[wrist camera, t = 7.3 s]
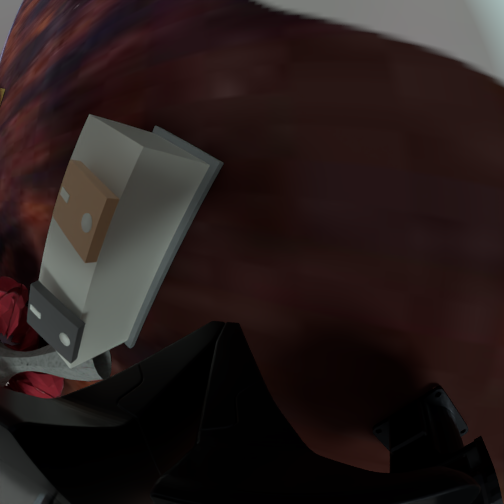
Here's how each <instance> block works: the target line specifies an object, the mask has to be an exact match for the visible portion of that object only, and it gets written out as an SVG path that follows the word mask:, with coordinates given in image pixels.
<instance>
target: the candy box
mask: <svg viewBox="0 0 504 504" xmlns="http://www.w3.org/2000/svg"><path fill="white" fill-rule="evenodd" d="M4 92H5V89H3V88H0V105H1V101H2V98H3V95H4Z"/></svg>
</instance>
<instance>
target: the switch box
mask: <svg viewBox="0 0 504 504" xmlns="http://www.w3.org/2000/svg"><path fill="white" fill-rule="evenodd" d="M71 160H77V161H81V162H82V163H83V164H84V165H85V166H86V167H87V168H88V169H89V170H90V171H91V172H92V173H93V174H94V175H95V176H96V177H97V178H98V179H99V180H100V181H101V182H102V183H103V184H104V185H105V186H106V187H108V188H109V189H110V190H111V191H112V192H113V193H114V194H115V195H116V196H117V197H118V198H119V202H118V204H117V207H116V209H115V212H114V215H113V217H112V220H111V222H110V225H109V228H108V230H107V233H106V236H105V239H104V242H103V245H102V247H101V250H100V253H99V256H98V259H97V262H92V263H84V261H83V260H82V258H81V257H80V256H79V254H78V253H77V251H76V250H75V249H74V247H73V246H72V244H71V243H70V241H69V240H68V239H67V237H66V236H65V234H64V233H63V231H62V230H61V228H60V227H59V225H58V224H57V222H56V220H55V219H54V217H53V216H52V220H51V224H50V228H49V232H48V236H47V240H46V245H45V250H44V254H43V259H42V265H41V270H40V276H39V281H40V282H41V283H42V284H43V285H44V286H45V287H46V288H47V289H48V290H49V291H50V292H51V293H52V294H53V295H54V296H55V297H56V298H57V299H58V300H60V301H61V302H62V303H63V304H64V305H65V306H66V307H67V308H68V309H70V310H71V311H72V312H73V313H74V314H75V315H76V316H78V317H79V318H80V319H81V320H82V321H83V322H85V327H84V331H83V335H82V339H81V344H80V348H79V352H78V357H77V359H76V360H75V361H74V362H73V363H71V364H70V363H69V362H68V361H67V360H66V359H65V358H64V357H62V356H61V355H60V354H59V353H58V352H57V353H58V354H59V355H60V357H61V358H62V359H63V360H64V362H65V363H66V364H67V365H68V367H69V368H70V369H71V368H73V367H75V366H77V365H79V364H81V363H83V362H85V361H87V360H89V359H91V358H93V357H95V356H97V355H99V354H101V353H103V352H105V351H107V350H109V349H111V348H113V347H115V346H117V345H119V344H121V343H123V342H124V343H125V344H126V345H127V346H128V347H129V348H132V347H134V345H135V342H136V340H137V338H138V335H139V333H140V331H141V328H142V326H143V324H144V321H145V319H146V317H147V315H148V312H149V310H150V308H151V306H152V304H153V301H154V299H155V297H156V295H157V293H158V290H159V288H160V286H161V284H162V282H163V280H164V278H165V276H166V273H167V271H168V269H169V267H170V265H171V263H172V261H173V259H174V257H175V255H176V253H177V251H178V249H179V247H180V245H181V243H182V241H183V239H184V237H185V235H186V233H187V231H188V229H189V227H190V225H191V223H192V221H193V219H194V217H195V215H196V213H197V212H198V210H199V208H200V206H201V204H202V202H203V200H204V198H205V196H206V195H207V193H208V191H209V189H210V187H211V185H212V184H213V182H214V180H215V178H216V176H217V175H218V173H219V171H220V169H221V167H222V166H223V164H224V163H223V162H222V161H220V160H218V159H216V158H215V157H213V156H211V155H209V154H208V153H206V152H204V151H202V150H201V149H199V148H197V147H195V146H194V145H192V144H190V143H188V142H186V141H185V140H183V139H181V138H179V137H177V136H176V135H174V134H172V133H170V132H168V131H166V130H164V129H163V128H161V127H158V126H156V125H155V127H154V129H153V131H152V133H151V132H148V131H145V130H142V129H139V128H136V127H132V126H129V125H126V124H122V123H119V122H116V121H112V120H109V119H105V118H102V117H98V116H95V115H91V114H89V116H88V118H87V120H86V123H85V125H84V127H83V129H82V132H81V134H80V137H79V139H78V141H77V144H76V146H75V149H74V152H73V154H72V157H71Z"/></svg>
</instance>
